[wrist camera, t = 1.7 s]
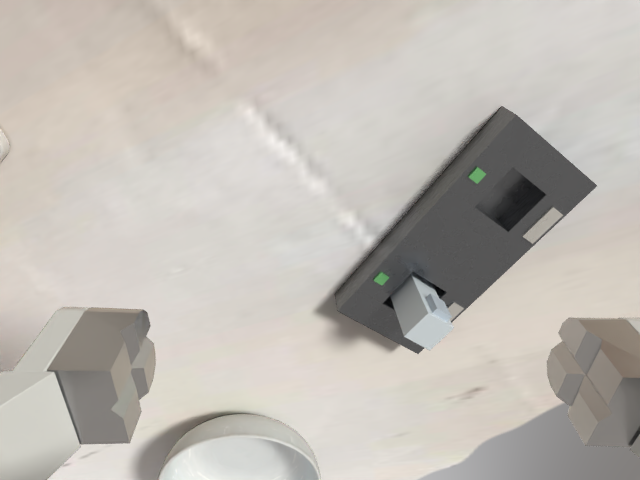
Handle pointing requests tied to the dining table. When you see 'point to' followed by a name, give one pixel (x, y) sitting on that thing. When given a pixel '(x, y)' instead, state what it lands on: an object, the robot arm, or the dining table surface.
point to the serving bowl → (241, 452)
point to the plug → (421, 311)
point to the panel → (468, 224)
